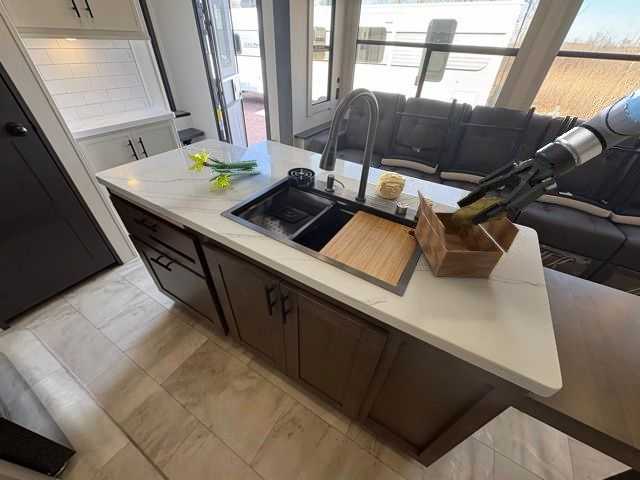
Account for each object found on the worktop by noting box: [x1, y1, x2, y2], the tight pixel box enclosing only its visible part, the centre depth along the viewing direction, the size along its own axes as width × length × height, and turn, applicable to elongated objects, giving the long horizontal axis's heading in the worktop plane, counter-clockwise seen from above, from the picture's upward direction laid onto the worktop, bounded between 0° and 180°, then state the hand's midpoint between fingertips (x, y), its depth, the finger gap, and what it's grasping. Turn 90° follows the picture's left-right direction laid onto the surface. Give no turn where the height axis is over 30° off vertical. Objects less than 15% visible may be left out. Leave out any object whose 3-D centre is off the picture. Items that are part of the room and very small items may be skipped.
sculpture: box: [375, 171, 406, 200], centre depth 111 cm, size 12×12×11 cm
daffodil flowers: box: [187, 145, 261, 192], centre depth 113 cm, size 17×15×35 cm
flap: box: [417, 189, 448, 250], centre depth 75 cm, size 21×8×1 cm
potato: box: [452, 196, 509, 226], centre depth 67 cm, size 8×13×8 cm, turn 74°
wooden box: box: [413, 196, 520, 278], centre depth 78 cm, size 21×17×17 cm
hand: (465, 213), depth 67 cm, fingers closed on potato, 7 cm apart
